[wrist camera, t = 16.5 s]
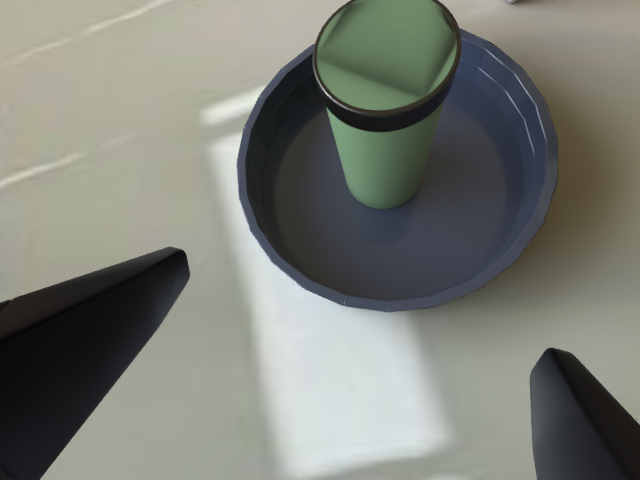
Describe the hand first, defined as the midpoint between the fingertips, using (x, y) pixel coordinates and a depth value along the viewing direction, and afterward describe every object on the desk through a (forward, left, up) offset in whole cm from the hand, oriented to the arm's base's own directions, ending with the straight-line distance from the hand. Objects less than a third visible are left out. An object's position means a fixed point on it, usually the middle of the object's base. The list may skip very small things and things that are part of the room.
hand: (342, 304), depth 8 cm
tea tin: (+9, +2, -13) cm, 16 cm away
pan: (+9, +2, -13) cm, 16 cm away
